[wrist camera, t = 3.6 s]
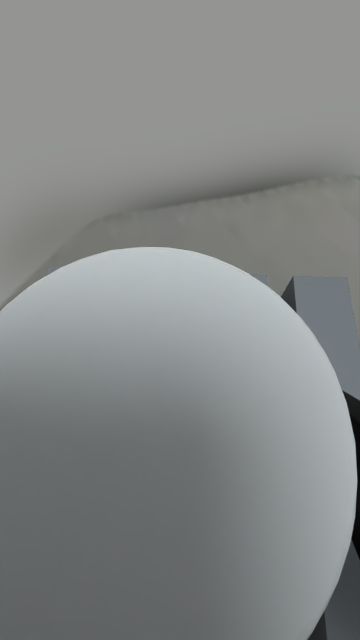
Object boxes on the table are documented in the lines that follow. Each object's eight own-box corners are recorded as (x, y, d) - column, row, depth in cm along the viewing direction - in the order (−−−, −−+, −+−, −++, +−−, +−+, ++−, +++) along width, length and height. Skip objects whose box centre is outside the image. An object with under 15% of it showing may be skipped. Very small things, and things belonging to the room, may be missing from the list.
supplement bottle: (96, 430, 15) (-260, 397, 3) (186, 349, 17) (157, 129, 5) (180, 544, 13) (4, 1627, 1) (274, 438, 14) (613, 436, 3)
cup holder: (355, 650, 11) (432, 753, 8) (4, 601, 12) (-77, 668, 9) (314, 312, 17) (347, 277, 13) (78, 301, 18) (48, 267, 15)
